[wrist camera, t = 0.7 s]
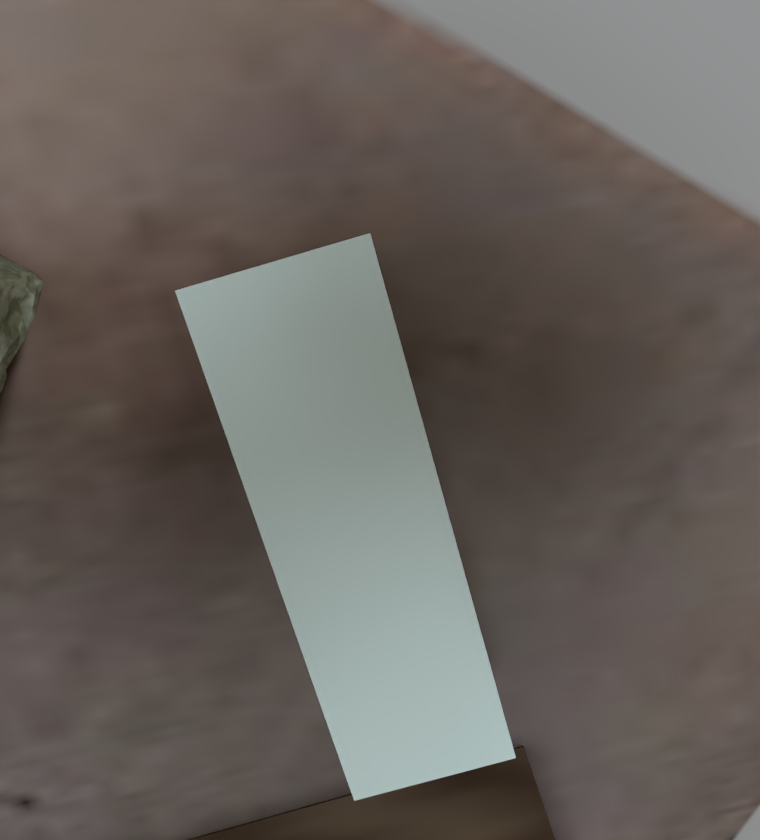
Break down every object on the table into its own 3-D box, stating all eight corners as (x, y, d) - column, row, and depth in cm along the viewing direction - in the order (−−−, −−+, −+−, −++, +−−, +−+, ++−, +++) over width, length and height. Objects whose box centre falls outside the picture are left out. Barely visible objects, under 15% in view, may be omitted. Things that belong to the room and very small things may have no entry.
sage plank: (487, 668, 21) (515, 758, 17) (355, 703, 21) (354, 800, 17) (368, 243, 18) (369, 232, 14) (215, 288, 18) (174, 290, 14)
